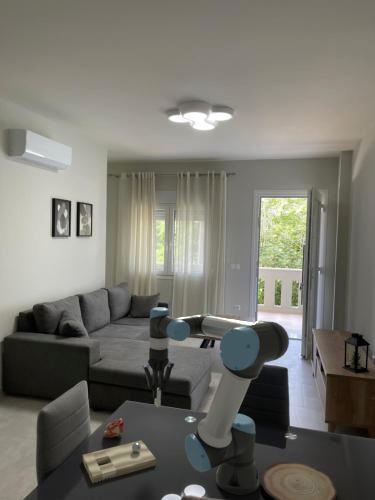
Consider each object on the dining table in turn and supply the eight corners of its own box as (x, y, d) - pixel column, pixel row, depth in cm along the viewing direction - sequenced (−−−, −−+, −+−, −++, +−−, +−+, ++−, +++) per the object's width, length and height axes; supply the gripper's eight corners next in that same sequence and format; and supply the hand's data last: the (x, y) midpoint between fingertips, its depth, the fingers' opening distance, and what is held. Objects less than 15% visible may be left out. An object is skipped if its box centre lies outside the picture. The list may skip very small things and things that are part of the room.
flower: (131, 429, 172) (122, 413, 174) (126, 435, 163) (116, 418, 165) (113, 441, 172) (104, 425, 174) (107, 448, 163) (97, 431, 165)
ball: (142, 453, 152) (142, 444, 152) (133, 455, 151) (133, 446, 151) (139, 448, 156) (139, 440, 155) (130, 451, 154) (130, 442, 154)
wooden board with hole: (155, 465, 149) (155, 458, 149) (92, 483, 138) (92, 476, 138) (141, 446, 162) (141, 440, 162) (82, 461, 151) (82, 454, 151)
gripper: (170, 342, 162) (168, 398, 163) (139, 346, 156) (138, 404, 157) (177, 347, 155) (176, 406, 156) (146, 351, 149) (145, 412, 151)
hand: (157, 405), depth 157 cm, fingers closed
